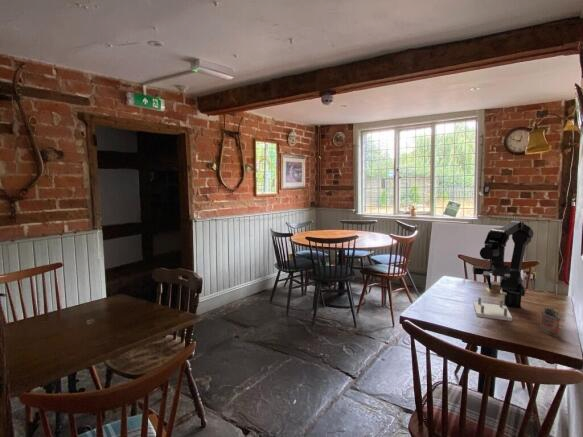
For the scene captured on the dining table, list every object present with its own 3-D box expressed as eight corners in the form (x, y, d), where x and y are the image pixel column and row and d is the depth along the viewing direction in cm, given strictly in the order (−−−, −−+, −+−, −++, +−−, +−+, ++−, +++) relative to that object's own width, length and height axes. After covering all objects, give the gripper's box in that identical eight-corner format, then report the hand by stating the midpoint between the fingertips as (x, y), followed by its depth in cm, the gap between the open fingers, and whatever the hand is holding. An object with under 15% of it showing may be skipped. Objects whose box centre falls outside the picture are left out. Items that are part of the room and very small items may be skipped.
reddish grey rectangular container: (537, 328, 150) (539, 305, 149) (544, 327, 150) (547, 305, 149) (553, 336, 142) (555, 312, 141) (560, 336, 142) (563, 312, 141)
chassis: (505, 308, 171) (506, 299, 171) (511, 321, 157) (512, 311, 156) (473, 304, 177) (474, 296, 176) (476, 316, 162) (477, 306, 162)
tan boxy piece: (499, 291, 167) (500, 280, 166) (504, 297, 158) (504, 286, 158) (485, 290, 169) (486, 279, 168) (488, 296, 160) (489, 285, 160)
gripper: (475, 258, 158) (473, 292, 159) (524, 262, 151) (522, 297, 153) (473, 253, 168) (471, 285, 170) (519, 256, 161) (516, 290, 163)
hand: (494, 289), depth 163 cm, fingers closed on tan boxy piece, 4 cm apart
